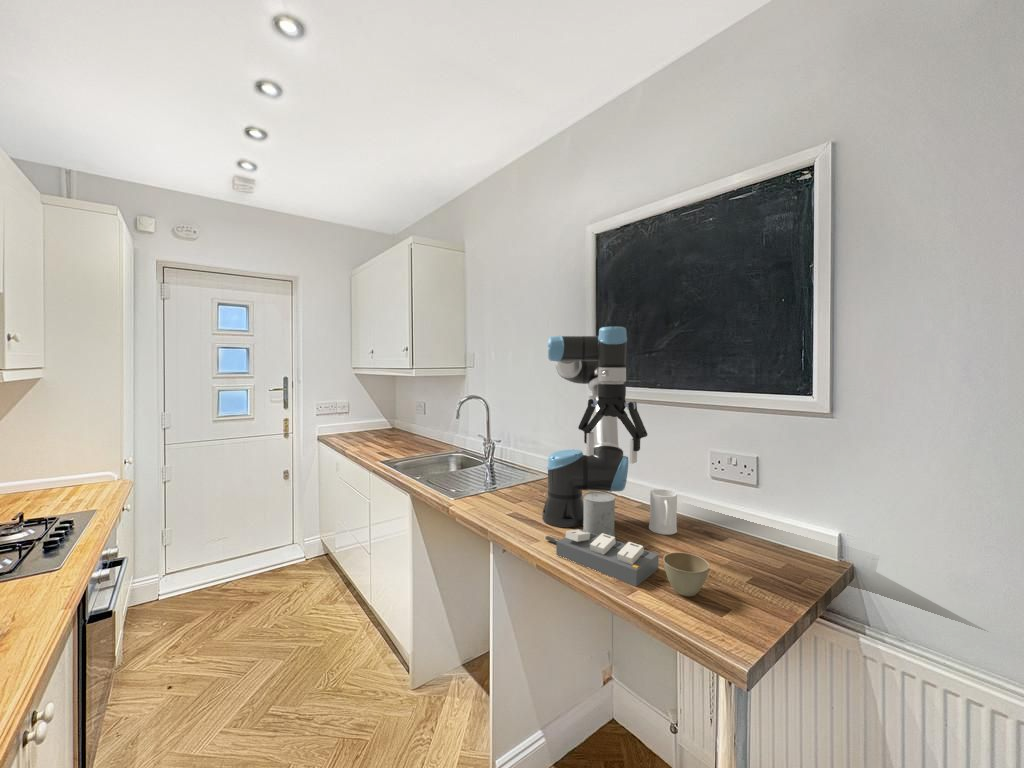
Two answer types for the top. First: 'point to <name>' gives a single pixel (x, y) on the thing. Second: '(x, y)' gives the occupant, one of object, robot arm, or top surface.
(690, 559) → the flower pot
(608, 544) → the block
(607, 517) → the grey concrete cylinder
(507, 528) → the top surface
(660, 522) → the mug
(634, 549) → the rocker
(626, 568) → the power strip
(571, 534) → the rocker
